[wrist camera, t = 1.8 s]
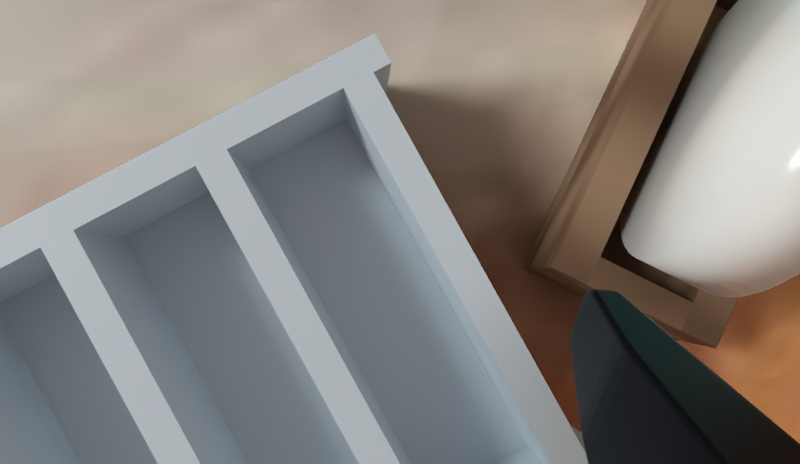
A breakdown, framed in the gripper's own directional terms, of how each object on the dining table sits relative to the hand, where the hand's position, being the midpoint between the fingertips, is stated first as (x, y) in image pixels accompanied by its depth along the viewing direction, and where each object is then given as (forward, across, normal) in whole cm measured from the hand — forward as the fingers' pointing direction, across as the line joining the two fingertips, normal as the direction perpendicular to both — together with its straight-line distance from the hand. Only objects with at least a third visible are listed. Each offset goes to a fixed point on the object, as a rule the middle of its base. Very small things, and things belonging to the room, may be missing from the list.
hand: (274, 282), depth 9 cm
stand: (+15, -12, +4) cm, 20 cm away
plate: (+10, -12, +1) cm, 16 cm away
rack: (+9, +2, +12) cm, 15 cm away
